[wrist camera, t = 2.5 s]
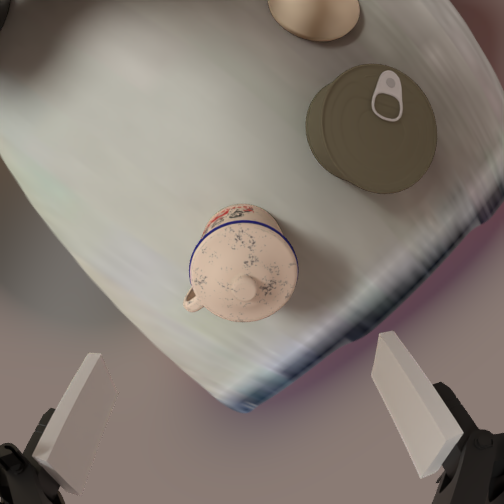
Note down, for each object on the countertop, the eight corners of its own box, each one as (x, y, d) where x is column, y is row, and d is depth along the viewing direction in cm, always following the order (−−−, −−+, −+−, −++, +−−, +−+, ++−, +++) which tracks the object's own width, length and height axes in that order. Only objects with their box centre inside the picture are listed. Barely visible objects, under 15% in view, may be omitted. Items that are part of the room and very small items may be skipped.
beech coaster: (270, 39, 26) (271, 35, 25) (265, -30, 22) (266, -35, 21) (360, 46, 26) (364, 43, 25) (350, -22, 23) (353, -26, 22)
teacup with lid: (247, 183, 31) (252, 204, 20) (300, 246, 34) (329, 295, 23) (165, 254, 33) (134, 306, 22) (219, 309, 36) (213, 375, 25)
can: (294, 172, 31) (309, 179, 25) (311, 65, 27) (330, 47, 21) (393, 193, 32) (425, 205, 26) (409, 95, 28) (443, 89, 22)
